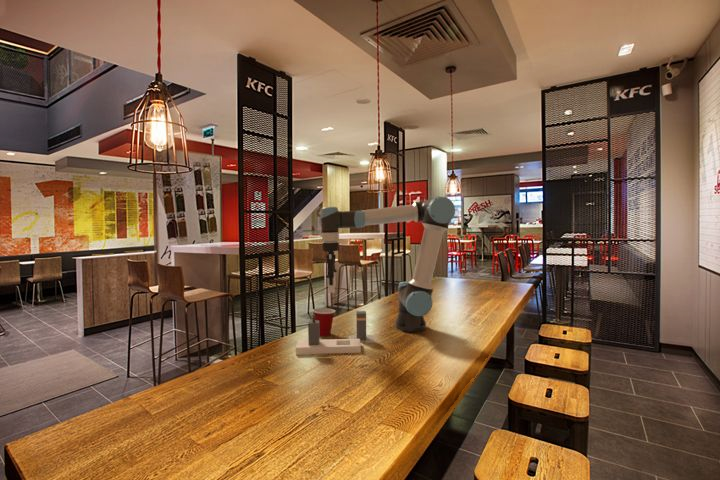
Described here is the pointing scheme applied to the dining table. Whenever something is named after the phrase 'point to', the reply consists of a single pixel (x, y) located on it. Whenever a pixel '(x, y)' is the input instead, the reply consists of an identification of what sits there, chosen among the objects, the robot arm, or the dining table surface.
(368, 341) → the white flat slab
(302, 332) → the dining table surface
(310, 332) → the socket stand
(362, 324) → the plug
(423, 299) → the robot arm
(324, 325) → the plastic cup
